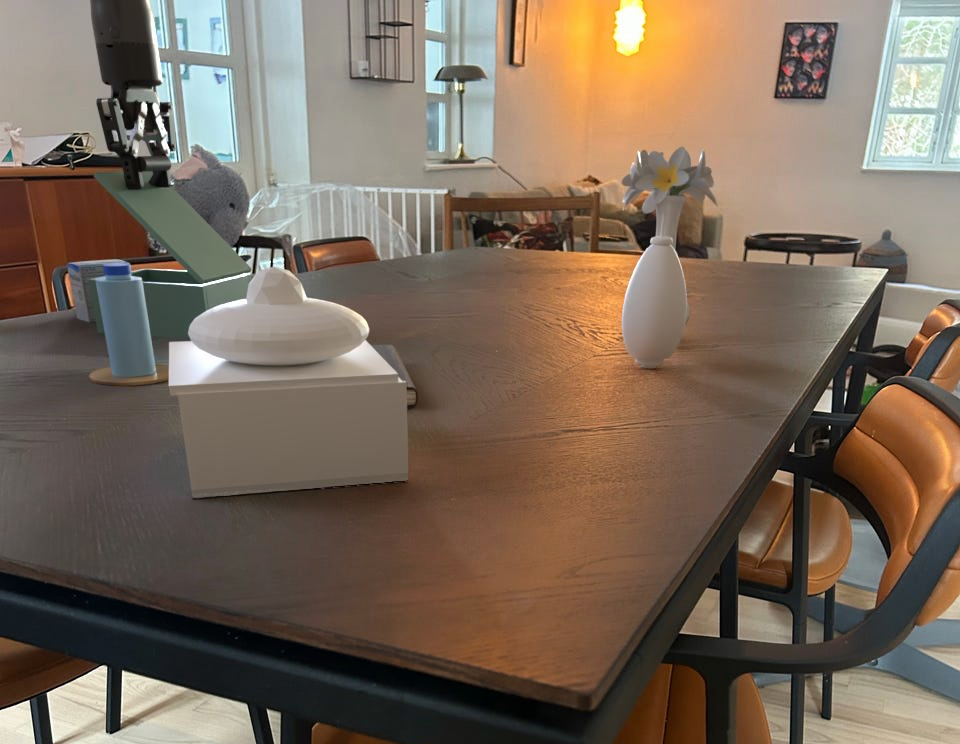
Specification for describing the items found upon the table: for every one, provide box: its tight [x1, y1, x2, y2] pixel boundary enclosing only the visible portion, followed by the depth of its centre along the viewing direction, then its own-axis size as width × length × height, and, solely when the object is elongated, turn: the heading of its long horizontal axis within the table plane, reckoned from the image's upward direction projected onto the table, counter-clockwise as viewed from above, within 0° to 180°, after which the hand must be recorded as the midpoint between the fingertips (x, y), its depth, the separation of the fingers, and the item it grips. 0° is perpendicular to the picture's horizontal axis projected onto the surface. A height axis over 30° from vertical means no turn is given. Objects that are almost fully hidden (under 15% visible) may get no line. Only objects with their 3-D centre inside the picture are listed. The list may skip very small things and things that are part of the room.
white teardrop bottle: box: [621, 213, 688, 370], centre depth 113 cm, size 8×8×18 cm
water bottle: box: [96, 263, 156, 377], centre depth 106 cm, size 5×5×12 cm
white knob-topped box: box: [168, 266, 410, 495], centre depth 78 cm, size 18×18×16 cm
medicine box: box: [66, 258, 131, 323], centre depth 138 cm, size 8×4×9 cm, turn 135°
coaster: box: [88, 363, 169, 387], centre depth 109 cm, size 10×10×1 cm
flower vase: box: [621, 146, 719, 326], centre depth 130 cm, size 13×18×25 cm
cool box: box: [88, 268, 252, 340], centre depth 131 cm, size 18×14×8 cm
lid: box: [93, 155, 252, 284], centre depth 124 cm, size 19×14×5 cm
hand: (149, 188), depth 124 cm, fingers closed on lid, 6 cm apart
